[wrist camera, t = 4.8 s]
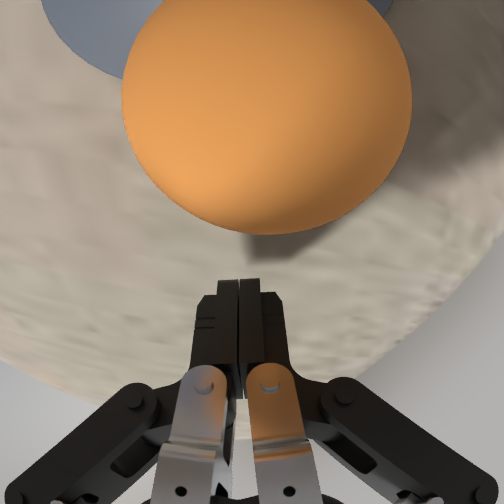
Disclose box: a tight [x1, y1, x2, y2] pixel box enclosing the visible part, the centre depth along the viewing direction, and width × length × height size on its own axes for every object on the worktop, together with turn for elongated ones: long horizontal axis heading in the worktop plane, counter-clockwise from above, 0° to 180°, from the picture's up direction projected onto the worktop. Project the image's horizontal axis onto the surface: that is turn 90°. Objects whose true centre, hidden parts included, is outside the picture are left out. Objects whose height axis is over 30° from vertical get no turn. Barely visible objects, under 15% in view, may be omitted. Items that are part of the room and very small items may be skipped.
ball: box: [122, 0, 412, 235], centre depth 6 cm, size 6×6×6 cm
